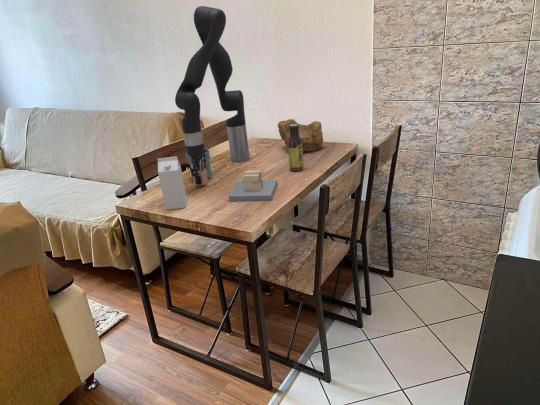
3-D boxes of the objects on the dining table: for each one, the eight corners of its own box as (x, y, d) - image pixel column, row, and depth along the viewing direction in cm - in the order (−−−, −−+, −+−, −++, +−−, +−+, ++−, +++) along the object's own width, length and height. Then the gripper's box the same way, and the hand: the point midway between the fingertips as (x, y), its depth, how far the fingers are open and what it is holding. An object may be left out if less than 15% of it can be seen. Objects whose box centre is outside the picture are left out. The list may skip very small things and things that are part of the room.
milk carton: (168, 202, 156) (158, 155, 148) (187, 200, 156) (178, 153, 148) (166, 210, 149) (155, 161, 142) (185, 208, 149) (175, 159, 142)
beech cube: (247, 185, 160) (246, 170, 157) (262, 184, 159) (261, 170, 156) (244, 190, 154) (242, 176, 152) (259, 190, 153) (258, 175, 151)
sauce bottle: (302, 171, 174) (300, 126, 167) (288, 172, 176) (285, 127, 168) (304, 166, 180) (302, 122, 172) (290, 167, 182) (287, 123, 174)
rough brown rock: (271, 156, 202) (269, 128, 195) (282, 144, 216) (280, 117, 209) (316, 159, 194) (315, 129, 187) (324, 146, 208) (324, 118, 201)
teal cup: (217, 174, 181) (213, 148, 177) (203, 182, 173) (199, 155, 168) (199, 173, 186) (195, 147, 181) (185, 180, 178) (180, 154, 173)
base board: (239, 185, 166) (238, 181, 165) (277, 184, 163) (277, 180, 162) (229, 201, 151) (228, 196, 151) (271, 200, 148) (270, 195, 148)
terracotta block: (197, 180, 171) (195, 169, 169) (208, 180, 170) (206, 169, 168) (194, 185, 167) (192, 173, 165) (204, 184, 166) (202, 173, 164)
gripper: (197, 147, 154) (204, 188, 161) (208, 137, 167) (214, 175, 174) (178, 148, 156) (186, 188, 163) (191, 138, 169) (198, 176, 176)
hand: (201, 181), depth 168 cm, fingers closed on terracotta block, 4 cm apart
